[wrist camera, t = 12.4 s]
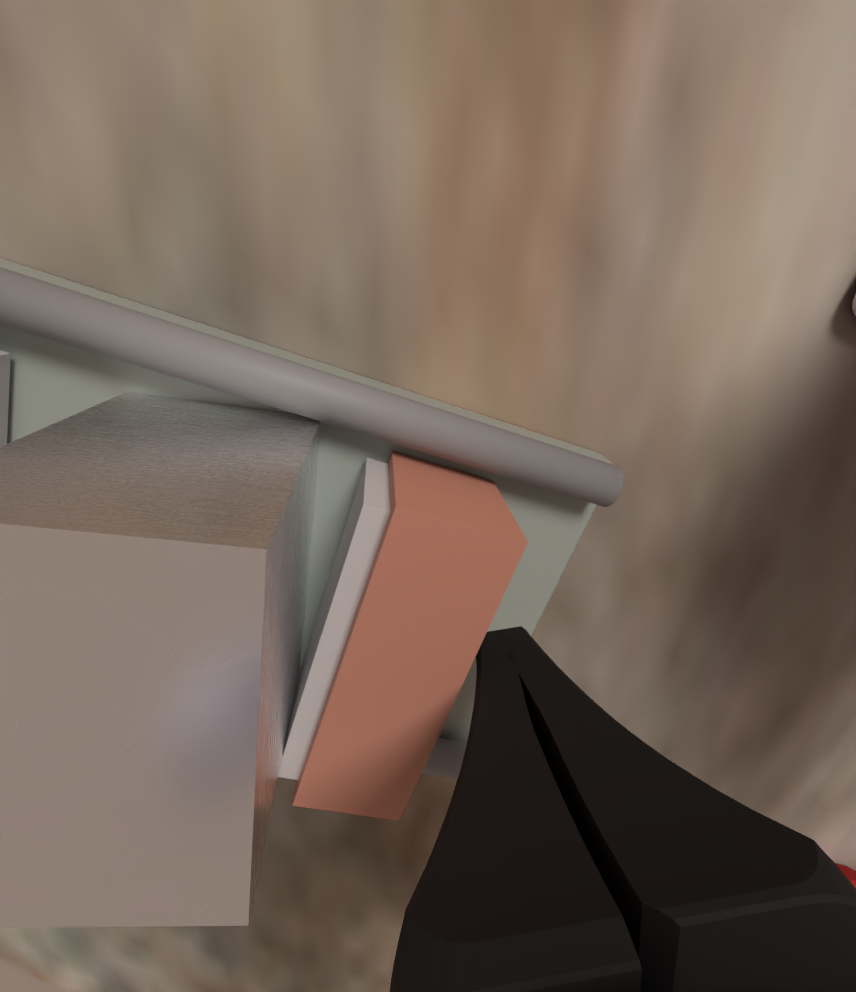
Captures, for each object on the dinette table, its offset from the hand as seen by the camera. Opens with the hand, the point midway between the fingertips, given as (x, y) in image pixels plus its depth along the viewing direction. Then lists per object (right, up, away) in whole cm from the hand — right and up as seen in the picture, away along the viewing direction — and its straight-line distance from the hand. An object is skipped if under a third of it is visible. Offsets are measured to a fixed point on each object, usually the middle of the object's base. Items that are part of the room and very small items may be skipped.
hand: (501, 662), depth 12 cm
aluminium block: (-7, +3, 0) cm, 7 cm away
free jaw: (-3, +1, +1) cm, 3 cm away
